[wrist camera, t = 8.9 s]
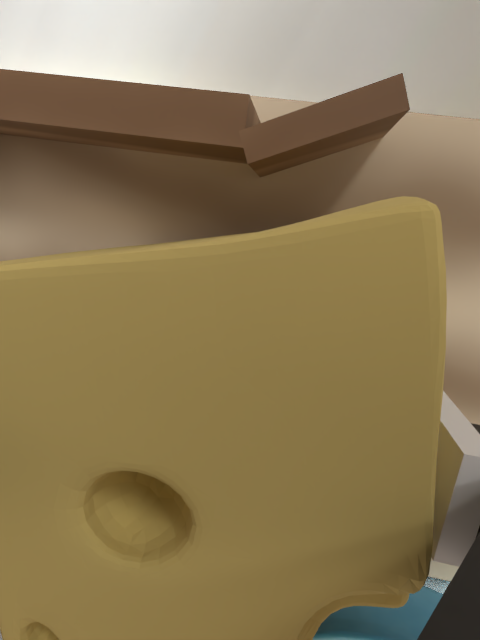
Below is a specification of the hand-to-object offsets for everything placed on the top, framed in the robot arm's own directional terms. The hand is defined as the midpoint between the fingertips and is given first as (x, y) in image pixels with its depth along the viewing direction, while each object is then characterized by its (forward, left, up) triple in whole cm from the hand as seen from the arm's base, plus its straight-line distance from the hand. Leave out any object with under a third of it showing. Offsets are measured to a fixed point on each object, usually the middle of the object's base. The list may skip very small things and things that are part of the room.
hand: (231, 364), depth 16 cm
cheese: (0, 0, -2) cm, 2 cm away
